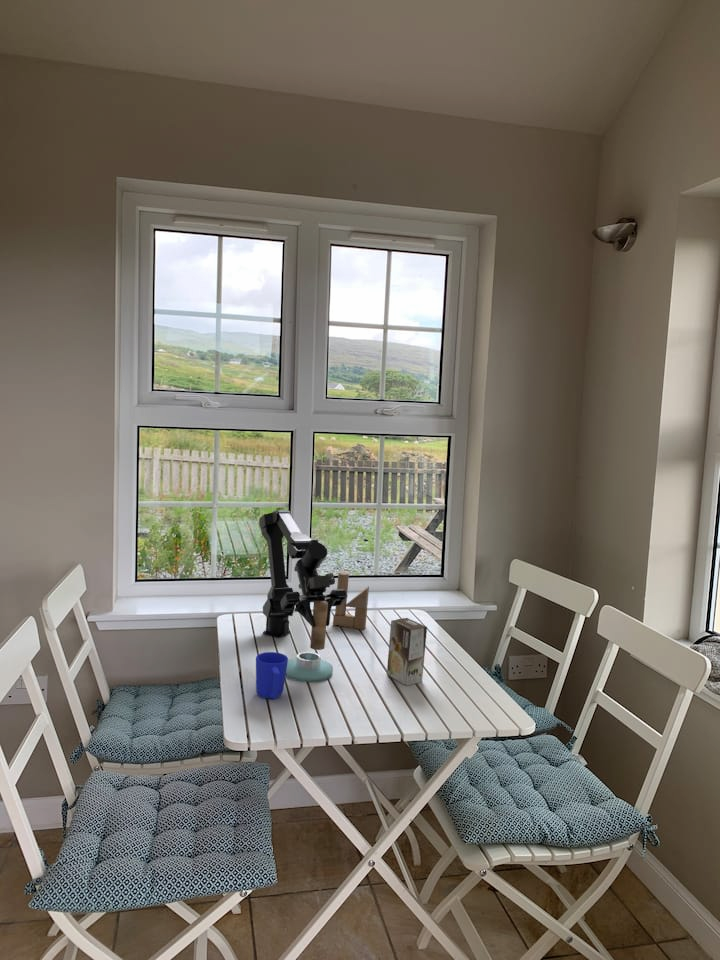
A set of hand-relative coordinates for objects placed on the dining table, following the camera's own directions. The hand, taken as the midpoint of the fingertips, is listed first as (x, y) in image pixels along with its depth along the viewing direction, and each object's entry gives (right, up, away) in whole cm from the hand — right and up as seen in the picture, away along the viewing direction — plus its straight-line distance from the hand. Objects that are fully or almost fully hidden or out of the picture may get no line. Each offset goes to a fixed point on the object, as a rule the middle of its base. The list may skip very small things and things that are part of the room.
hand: (321, 626), depth 208 cm
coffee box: (+23, -15, +3) cm, 28 cm away
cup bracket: (-4, -13, +2) cm, 14 cm away
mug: (-12, -15, -17) cm, 26 cm away
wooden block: (+7, -9, +44) cm, 45 cm away
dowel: (-1, -6, +2) cm, 7 cm away
